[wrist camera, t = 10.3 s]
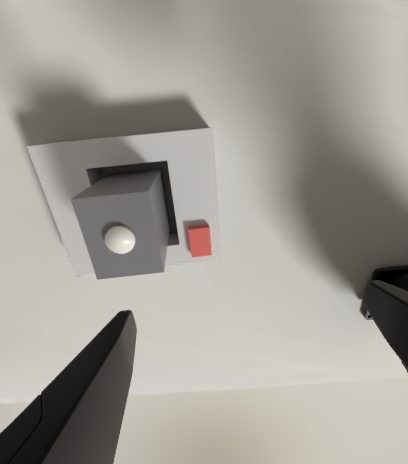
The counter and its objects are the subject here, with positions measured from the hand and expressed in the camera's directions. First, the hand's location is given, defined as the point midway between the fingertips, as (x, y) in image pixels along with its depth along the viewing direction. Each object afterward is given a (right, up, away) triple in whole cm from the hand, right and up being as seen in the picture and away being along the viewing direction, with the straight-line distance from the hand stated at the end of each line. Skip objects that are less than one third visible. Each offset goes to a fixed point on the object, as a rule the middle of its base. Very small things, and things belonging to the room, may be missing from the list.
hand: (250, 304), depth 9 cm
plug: (-7, +5, +11) cm, 14 cm away
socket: (-7, +5, +11) cm, 14 cm away
